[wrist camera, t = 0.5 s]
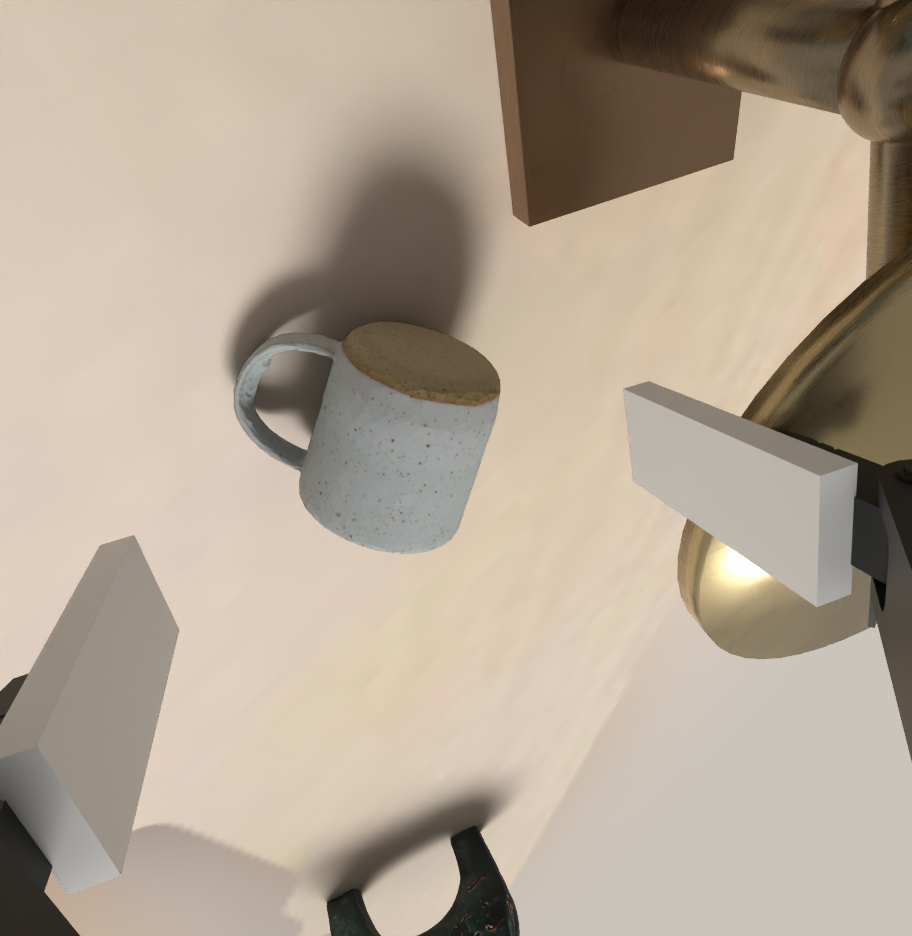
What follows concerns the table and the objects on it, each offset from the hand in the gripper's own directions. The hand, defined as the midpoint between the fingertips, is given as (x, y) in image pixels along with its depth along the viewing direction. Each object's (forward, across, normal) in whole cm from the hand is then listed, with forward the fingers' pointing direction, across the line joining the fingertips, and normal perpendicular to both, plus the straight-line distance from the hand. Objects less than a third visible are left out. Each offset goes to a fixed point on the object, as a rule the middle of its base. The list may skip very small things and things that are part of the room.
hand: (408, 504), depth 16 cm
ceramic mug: (+16, 0, -1) cm, 16 cm away
